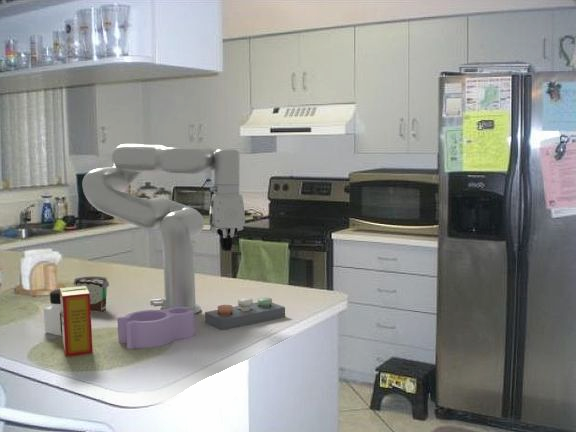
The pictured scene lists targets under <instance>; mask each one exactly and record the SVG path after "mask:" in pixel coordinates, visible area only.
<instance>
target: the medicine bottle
mask: <svg viewBox="0 0 576 432" xmlns="http://www.w3.org/2000/svg"><path fill="white" fill-rule="evenodd" d="M49 301H50V306H47V307H44V308H43V320H44V332H45V333H46V334H50V335H54V336H59V337H62V321H61V303H60V288H58V289H54V290H52V291H51V292H50V293H49Z"/></svg>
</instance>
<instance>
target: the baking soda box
mask: <svg viewBox="0 0 576 432" xmlns="http://www.w3.org/2000/svg"><path fill="white" fill-rule="evenodd" d="M59 289H60V303H61V321H62V336H61V339H62V347H63V351H64V355H65V358H66V357H73V356H74V357H75V356H81V355H89V354H94V353H93V334H92V332H93V331H92V311H91V309H90V293H89V291H88V289H87V287H86V286H77V287H76V286H68V287H66V286H65V287H60V288H59Z"/></svg>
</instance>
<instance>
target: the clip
mask: <svg viewBox="0 0 576 432" xmlns="http://www.w3.org/2000/svg"><path fill="white" fill-rule="evenodd" d="M195 333H196V331H195V314H194V310H189V311H188V307H173V308H169V309H165V310H160V309H147V310H146V309H145V310H138V311H134V312H133V311H132V312H130V313H128V314H126V315H125V316H118V317H117V336H118V337H117V341H118V343H119V344H121V343H124V344H125V343H126V348H127V350H132V349H134V348H141V349H146V348H149V349H150V348H156V347H161V346H165V345H168V344H170V343H171V342H173V341H175V340H182V339H188V338H191V337H194V336H195Z"/></svg>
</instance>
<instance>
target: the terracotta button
mask: <svg viewBox="0 0 576 432" xmlns="http://www.w3.org/2000/svg"><path fill="white" fill-rule="evenodd" d="M233 307H234V306H233V305H231V304H221V305H218V306H217V310H218V313H220V314H221V315H222V316H225V315H230V313H232V312H233Z"/></svg>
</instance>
